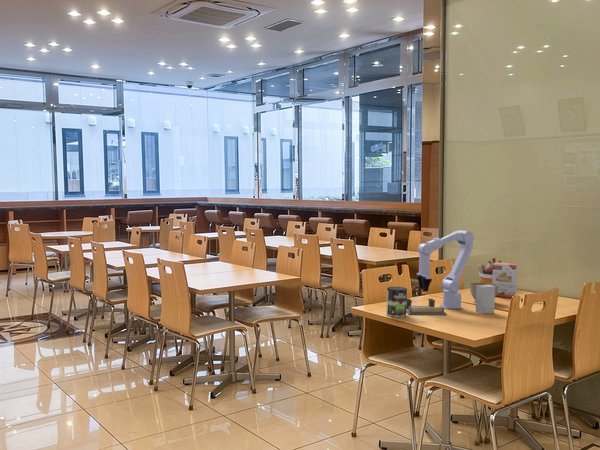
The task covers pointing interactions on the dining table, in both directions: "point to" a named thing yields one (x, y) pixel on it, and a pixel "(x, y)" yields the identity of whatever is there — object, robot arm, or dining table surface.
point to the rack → (431, 304)
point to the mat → (425, 313)
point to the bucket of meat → (486, 272)
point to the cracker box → (505, 279)
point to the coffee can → (396, 301)
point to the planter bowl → (473, 285)
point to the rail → (426, 309)
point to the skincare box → (485, 299)
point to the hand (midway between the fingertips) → (423, 290)
